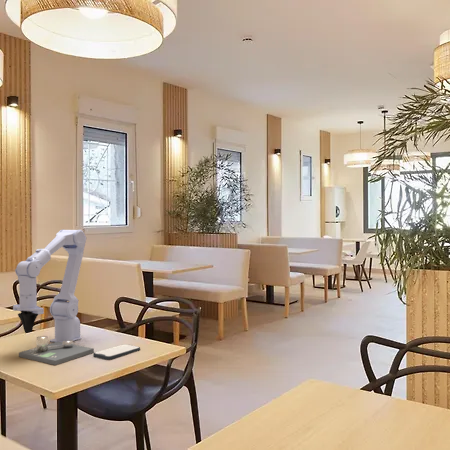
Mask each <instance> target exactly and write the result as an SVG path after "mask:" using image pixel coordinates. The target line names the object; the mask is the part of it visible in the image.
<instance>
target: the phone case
mask: <svg viewBox="0 0 450 450" xmlns="http://www.w3.org/2000/svg"><path fill="white" fill-rule="evenodd" d="M139 351H141V347H140V346H136V345H133V344H121V345H115V346H113V347H109V348H105V349H103V350H99V351H96V352H94V353H92V354H93V357H94V358H97V359H102V360H106V361H111V360H114V359H118V358H121V357H124V356H127V355H129V354H132V353H135V352H139Z"/></svg>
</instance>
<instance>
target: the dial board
mask: <svg viewBox="0 0 450 450" xmlns="http://www.w3.org/2000/svg"><path fill="white" fill-rule="evenodd" d="M61 344H63V342H51V343H48V346H55V345H61ZM35 348H36V347H33V348H30V349H26V350H22V351H19V352H18V357H20V358H24V359H28V360H32V361H36V362H39V363H45V364H48V365H54V366H57V365H60V364H64V363H66V362H69V361H72V360H76V359H78V358H81V357H85V356H87V355H91V354H93V353H95V352H94V351H95V348H93V347H88V346H85V345H84V346H83V345H78V344H73V346H72V347H61V348H55V349H48V350H47V351H36V352H31V349H35Z"/></svg>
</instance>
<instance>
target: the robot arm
mask: <svg viewBox="0 0 450 450" xmlns="http://www.w3.org/2000/svg"><path fill="white" fill-rule="evenodd" d="M86 243H87V236H86V234H85V232H84V231H83V230H82V229H64V228H63V229H60V230H59V231H58V232H57V233H55V237H54V238H53V239H52V240H51V241H50V242H49V243H48V244H47V245H46V246H45V247H44V248H37V249H36V250H35V252H34V253H32V254H31V255H30V256H28V257H27V258H26V259H25V260H22V261H19V262H18V263H17V265H16V267H15V268H16V269H14V272H15V275H16V276H17V281H18V283H19V286H18V287H19V288H18V289H19V291H18V293H19V294H18V295H19V298H18V299H19V304H14V305H12V309H13V310H12V311H13V312H14V311H19V313H17V316H18V318H19V319H20V322H21V324H22V327H23V331H24V333H25V334H28V333H32V332H33V328H34V324H35V322H36V320H37V318H38V316H39V315H43V314H45V313H44V312H45V310H44V308H43V307H40V306H39V305H37V304H38V303H37V300H38V299H37V277H38V276H39V275H40V272H41V270H42V269H43V267H44V266H46V264H48V263H49V262H50V261H51V259H52V255H53V254H54V253H56V252H58V251H59V250H60V249H61V248H63V249H64V251H66V252H67V254H68V257H67V262H66V266H65V270H64V275H63V279H62V283H61V287H60V292H58V293H57V294H56V295H55V296H54V297H53V300H52V302H51V304H50V306H49V313H50V314H51V316H52V319H54V338H52V339H49V341H50V342H51V343H55V342H63V341H64V340H73V342H74V341H77V340H81V339H83V337H82V336H81V321H80V319H79V317H77V315H78V313H79V299H78V297H77V296H76V295H75V293H76V288H77V285H78V284H77V283H78V280H79V276H80V275H79V274H80V271H81V265H82V262H83V256H84V251H85V246H86Z"/></svg>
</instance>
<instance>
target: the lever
mask: <svg viewBox="0 0 450 450" xmlns="http://www.w3.org/2000/svg"><path fill="white" fill-rule="evenodd" d="M48 342H49V339H48V336H47V335H39V336H37V337H36V347H34V348H35V349H33V348H30V349H31V352H36V351H47V350H48V349H55V348H61V347H72V346H73V345H74V341H73V340H64V341H63V344H61V345H55V346H48V344H49V343H48Z"/></svg>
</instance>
